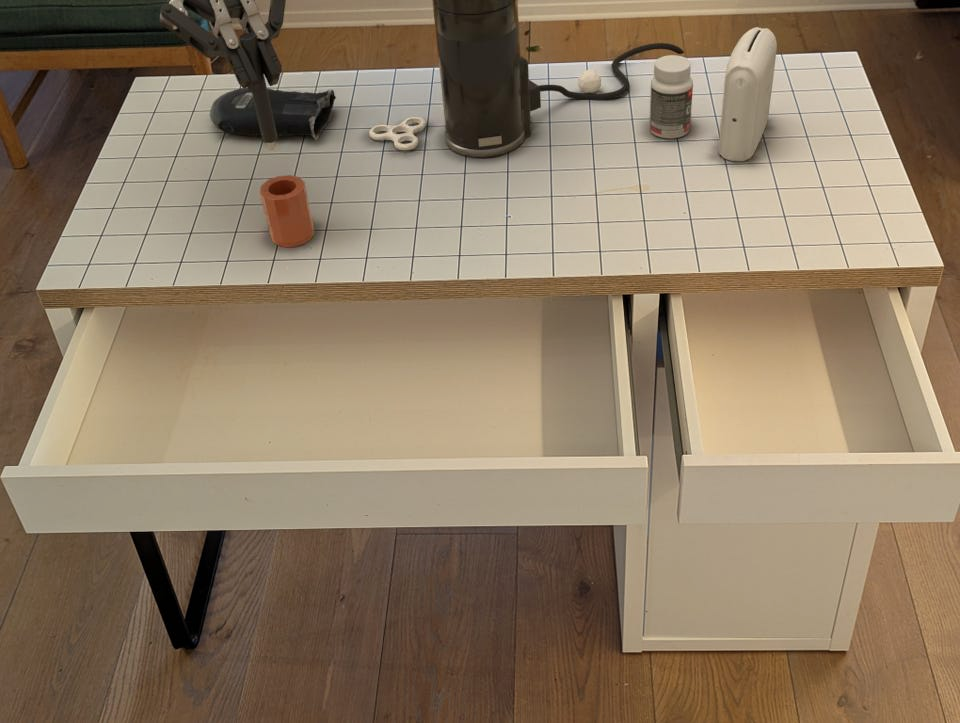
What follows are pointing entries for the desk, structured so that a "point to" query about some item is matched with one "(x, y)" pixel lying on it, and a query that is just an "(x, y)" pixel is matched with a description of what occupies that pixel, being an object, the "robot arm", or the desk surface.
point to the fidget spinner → (400, 137)
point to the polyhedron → (589, 81)
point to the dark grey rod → (260, 92)
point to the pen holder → (287, 210)
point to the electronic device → (274, 112)
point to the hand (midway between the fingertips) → (265, 84)
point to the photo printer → (747, 94)
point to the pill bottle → (671, 97)
